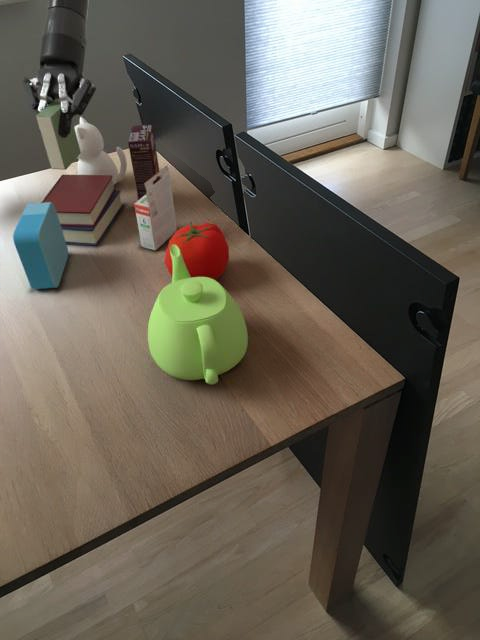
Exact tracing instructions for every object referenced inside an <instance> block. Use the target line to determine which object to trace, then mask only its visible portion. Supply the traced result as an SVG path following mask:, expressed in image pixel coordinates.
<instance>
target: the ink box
mask: <svg viewBox="0 0 480 640" xmlns="http://www.w3.org/2000/svg"><path fill="white" fill-rule="evenodd" d="M157 176H160V178H161V179H159V180H158V181H157V182H156V183H154V184H153V181H154V180H156V178H157ZM144 184H145V189H146V195H144V196H143V197H142V198H141V199H139V200H138V199H137V201H136V202H135V203H134V204H133V205H134V210H135V216H136V221H137V228H138V233H139V238H140V239H139V240H140V245H141V247H142V248H143V249H148V250H152V251H157V250H159V248H160V247H162V245H164V244H165V243H166V242H167V241H168V240H169V239H171V238H172V236H173V235H174V234H175V232H176V231H177V230H178V228H177V221H176V213H175V212H176V211H175V205H174V198H173V197H174V196H173V189H172V186H171V185H172V183H171V177H170V171H169V166H168V165H165V166H164V167H163V168H162V169H159V172H158V173H157V174H155V175H154V176H153V177H151V178H150V179H149V180H148V181H146V182H145V183H144Z"/></svg>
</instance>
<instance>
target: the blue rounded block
mask: <svg viewBox="0 0 480 640" xmlns="http://www.w3.org/2000/svg"><path fill="white" fill-rule="evenodd" d="M12 239H13V244H14V246H15V250H16V253H17V255H18V258H19V260H20V262H21V265H22V268H23V270H24V273H25V275H26V279H27V281H28V283H29V286H30V288H31V289H32V290H42V289H53V288H54V289H56V288H58V287H59V286H60V283H61V280H62V278H63V277H62V276H63V273H64V270H65V267H66V264H67V261H68V257H69V249H68V244H66V241H65V238H64V235H63V231H62V228H61V225H60V221H59V218H58V215H57V212H56V208H55V205H54V204H53V203H52V202H47V203H41V202H32V203H31V202H30V203H27V204H26V206H25V208H24V210H23V212H22V214H21V216H20V218H19V220H18V222H17V224H16V226H15V229H14V232H13V235H12Z"/></svg>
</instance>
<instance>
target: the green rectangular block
mask: <svg viewBox="0 0 480 640" xmlns="http://www.w3.org/2000/svg"><path fill="white" fill-rule="evenodd" d="M60 113H62V110H61V100H60V101H58V100H57V101H54V102H52V103H50V104H49V105H48V106H47V107H46V108H45V109H43V110H42V111H41V112H40V113H39V114H38V113H37V114H36V115H35V118H36V122H37V127H38V126H39V129H40V131H39V133H40V132H41V134H40V136H41V139H42V142H43V145H44V150H45V152H46V156H47V159H48V161H49V165H50V169H51V170H62V171H63V170H64V171H65V170H67V169H68V168H69V167H70V166H72V164H73V163H74V162H75V160H77V159H78V158H77V157H78V156H79V155H80V154H81V152H80V148H79V144H78V140H77V136H76V132H75V128H74V127H75V124H74V119H72V122H71V131H70V134H68V135H67V138H63V137H62V136H60V135H59V133H58V129H59V121H60Z"/></svg>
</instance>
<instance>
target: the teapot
mask: <svg viewBox="0 0 480 640" xmlns="http://www.w3.org/2000/svg"><path fill="white" fill-rule="evenodd" d="M170 253H171V257H172V264H173V274H172V276H171V282H170V283H168V284H167V285H165V286H164V287H163V288H162V289H161V291H160V292H159V294H158V296H157V298H156V299H155V302H154V304H153V307H152V309H151V312H150V315H149V320H148V323H147V324H148V326H147V344H148V348H149V353H150V355H151V357H152V359H153V361H154V362H155V364H157V366H158V367H159V369H161V370H162V371H164V372H165V373H166V374H168V375H169V376H171V377H174V378H176V379H179V380H182V381H199V380H205V383H206V384H208V385H215V384H217V383H218V382H219V376H220V375H222V374H224V373H226V372H228V371H230V370H231V369H233V368H234V367H235V366H236V365H237V364H239V363H240V362H241V361H242V359H243V358H244V356H245V355H246V352H247V348H248V345H249V344H248V343H249V335H248V328H247V324H246V321H245V318H244V315H243V312H242V310H241V309H240V307H239V305H238V303H237V302H236V301H235V299H234V298H233V297H232V296H231V294H230V293H229V291H227V290H226V289H225V287H224V286H222V284H220V282H218V281H217V280H214V279H211V278H208V277H192V278H191V277H190V275H189V272H188V270H187V268H186V265H185V263H184V260H183V257H182V254H181V251H180V249H179V248H178V246H176V245H175V244H173V245H171V246H170Z"/></svg>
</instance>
